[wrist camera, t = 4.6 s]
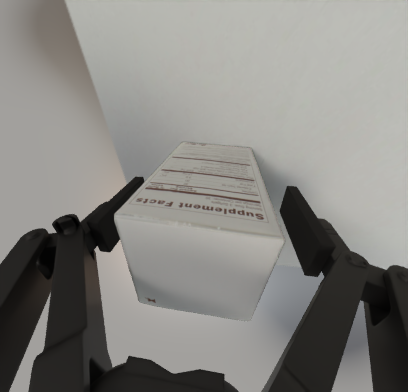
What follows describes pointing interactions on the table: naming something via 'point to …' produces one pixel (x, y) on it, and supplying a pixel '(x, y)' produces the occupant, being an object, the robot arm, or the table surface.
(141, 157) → the table surface
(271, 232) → the white packaging box
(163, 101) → the table surface
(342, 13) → the table surface
